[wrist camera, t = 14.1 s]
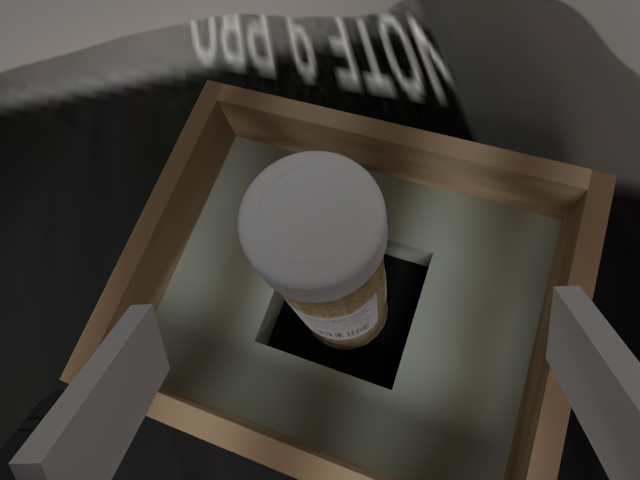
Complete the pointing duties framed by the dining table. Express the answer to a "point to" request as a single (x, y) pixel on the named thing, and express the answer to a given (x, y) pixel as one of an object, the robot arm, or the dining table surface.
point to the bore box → (403, 242)
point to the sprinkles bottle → (320, 243)
